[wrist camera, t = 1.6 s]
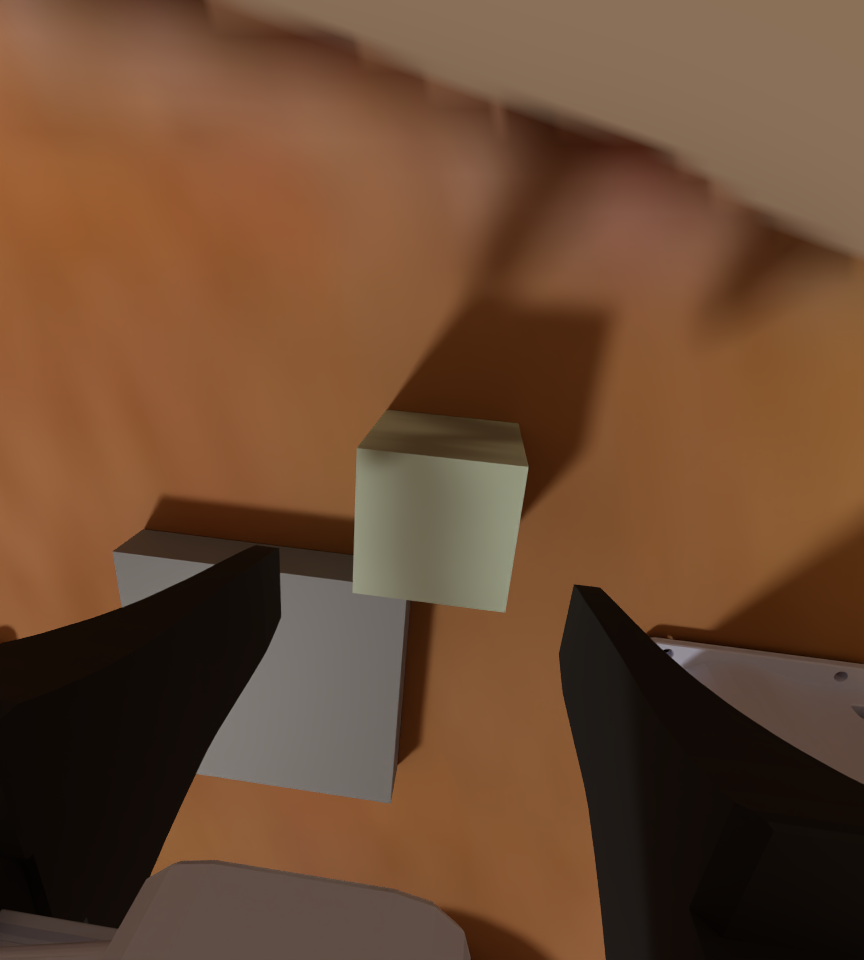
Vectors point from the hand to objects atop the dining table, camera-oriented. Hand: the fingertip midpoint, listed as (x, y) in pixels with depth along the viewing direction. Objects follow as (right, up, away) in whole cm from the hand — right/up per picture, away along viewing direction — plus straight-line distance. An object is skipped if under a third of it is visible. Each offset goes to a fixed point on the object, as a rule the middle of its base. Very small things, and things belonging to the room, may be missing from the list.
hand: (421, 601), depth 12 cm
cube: (+1, +3, +8) cm, 8 cm away
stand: (-7, -5, +12) cm, 15 cm away
